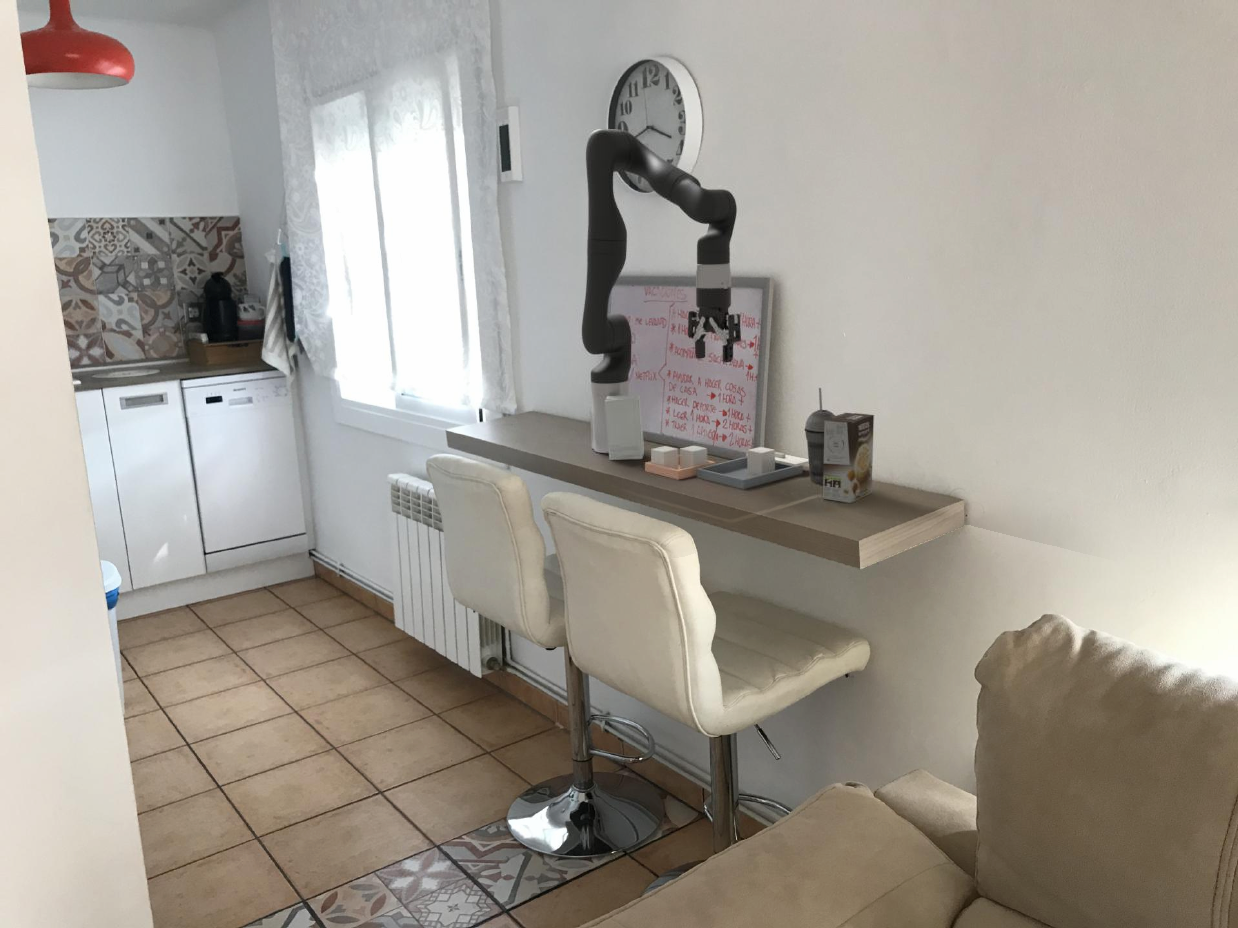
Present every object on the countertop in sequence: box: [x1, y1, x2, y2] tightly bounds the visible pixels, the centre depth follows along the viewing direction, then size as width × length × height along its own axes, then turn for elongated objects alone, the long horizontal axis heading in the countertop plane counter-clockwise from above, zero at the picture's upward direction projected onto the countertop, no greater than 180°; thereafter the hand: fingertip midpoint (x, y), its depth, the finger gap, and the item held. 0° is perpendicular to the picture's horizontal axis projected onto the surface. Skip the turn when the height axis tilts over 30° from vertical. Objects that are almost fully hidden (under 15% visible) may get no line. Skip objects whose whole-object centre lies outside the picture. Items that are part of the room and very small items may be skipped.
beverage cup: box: [804, 387, 836, 485], centre depth 204 cm, size 7×7×20 cm
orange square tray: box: [644, 454, 716, 481], centre depth 219 cm, size 11×11×2 cm
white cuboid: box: [679, 445, 708, 469], centre depth 218 cm, size 4×4×5 cm
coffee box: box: [822, 412, 875, 504], centre depth 194 cm, size 9×6×16 cm
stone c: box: [746, 446, 776, 475], centre depth 214 cm, size 4×4×5 cm
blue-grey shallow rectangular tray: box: [696, 451, 809, 490], centre depth 213 cm, size 15×21×4 cm
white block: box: [650, 445, 679, 470], centre depth 219 cm, size 4×4×5 cm
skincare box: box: [605, 393, 645, 461], centre depth 234 cm, size 8×6×15 cm
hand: (713, 360), depth 217 cm, fingers open, 8 cm apart
